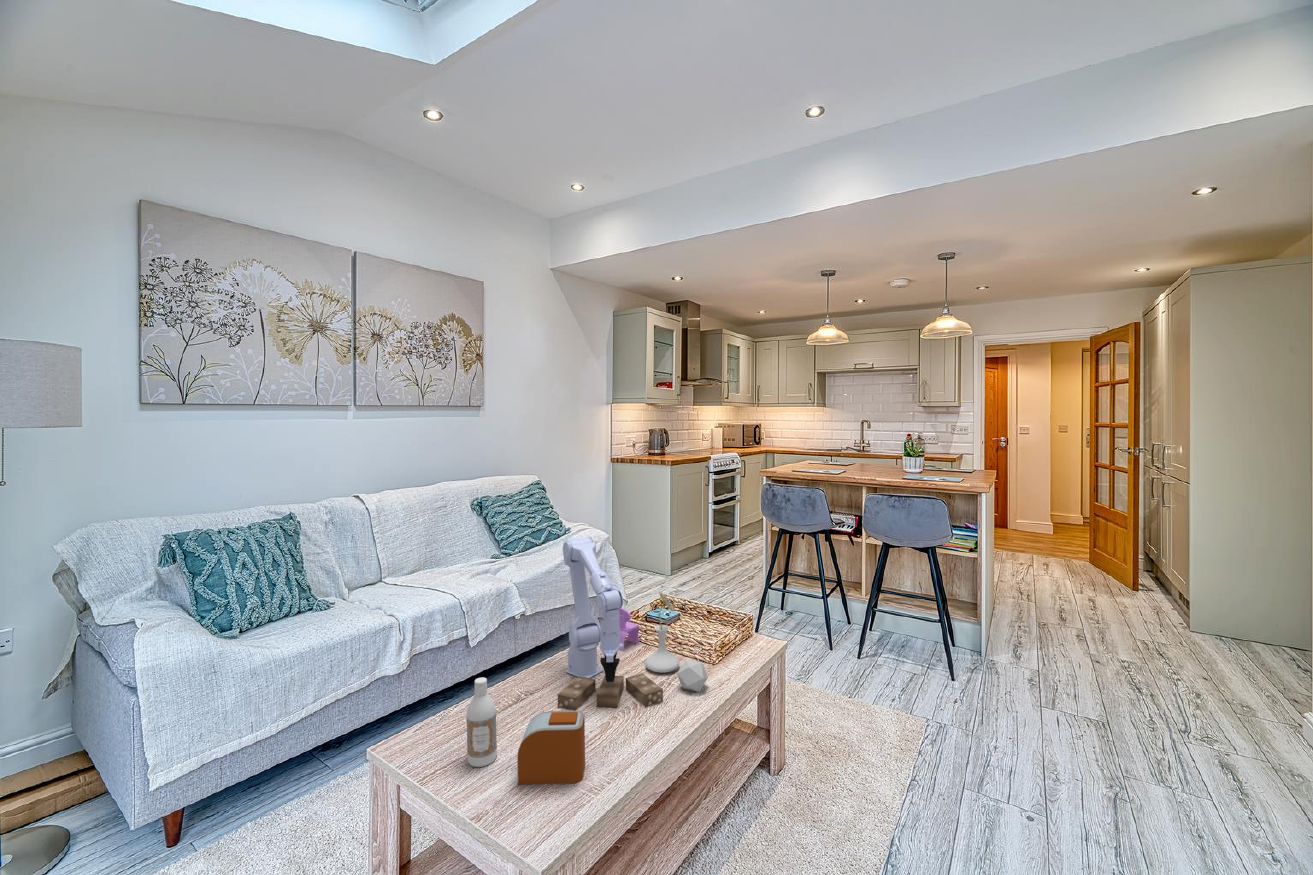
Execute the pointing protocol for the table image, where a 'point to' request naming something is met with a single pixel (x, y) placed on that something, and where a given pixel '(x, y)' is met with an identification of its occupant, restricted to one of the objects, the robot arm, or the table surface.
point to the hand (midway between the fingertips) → (610, 675)
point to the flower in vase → (662, 647)
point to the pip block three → (576, 693)
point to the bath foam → (481, 727)
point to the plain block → (610, 693)
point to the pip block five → (644, 690)
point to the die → (692, 675)
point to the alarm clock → (553, 749)
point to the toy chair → (627, 628)
